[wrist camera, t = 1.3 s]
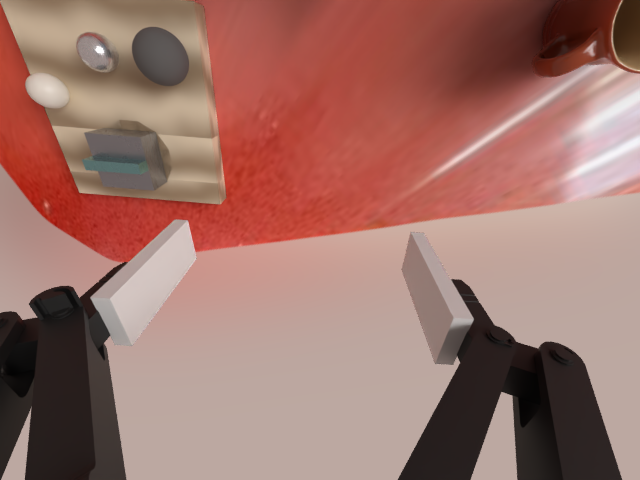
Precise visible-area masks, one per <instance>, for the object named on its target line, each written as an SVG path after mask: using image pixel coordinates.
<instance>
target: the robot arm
mask: <svg viewBox="0 0 640 480" xmlns="http://www.w3.org/2000/svg"><path fill="white" fill-rule="evenodd" d="M196 259H197V258H196V253H195V249H194V245H193V241H192V236H191V232H190V228H189V223H188V220H174V221H173V222H172V223H171V224H170V225H168V226H167V227H166V228H165V229H164V230H163V231H162V232H161V233H160V234H159V235H158V236H157V237H155V238H154V239H153V240H152V241H151V242H150V243H149V244H148V245H147V246H146V247H145V248H143V249H142V250H141V251H140V252H139V253H138V254H137V255H136V256H135V257H134V258H133V259H131V260H130V261H129V262H124V263H122V264H120V265H118V266H117V267H115V268H113V269H112V270H111V271H110V272H109V273H107V274H106V276H105V277H103V278H102V279H101V280H99V282H98V283H96V284H95V285H94V286H93V287H92V288H90V289H89V290H88V291H87V292H86V293H85V294H84V295H83V296H81V297H80V298H79V297H78V295H77V294H76V292H75V290H74V288H73V287H70V286H59V287H54V288H51V289H49V290H46V291H44V292H42V293H40V294H38V295H37V296H35V297H34V298H33V299H32V300H31V301H30V303H29V305H30V307H31V308H32V310H33V311H34V313H35V314H36V316H37V317H38V318H32V319H26V320H22V319H21V318H20V316H19V315H18V314H17V313H16V312H11V311H10V312H2V313H0V480H1V478H2V476H3V473H4V471H5V469H6V466H7V463H8V461H9V459H10V457H11V454H12V452H13V449H14V447H15V444H16V442H17V440H18V437H19V435H20V433H21V430H22V428H23V426H24V423H25V421H26V418H27V416H28V414H29V411H30V409H31V406H32V409H31V420H30V430H29V442H28V452H27V462H26V473H25V480H126V474H125V468H124V461H123V454H122V448H121V441H120V434H119V428H118V421H117V414H116V408H115V401H114V394H113V387H112V381H111V374H110V367H109V360H108V354H107V348H106V346H105V345H104V342H105V341H106V340H107V339H108V337H109V336H111V338H112V340H113V342H114V344H115V345H127V346H132V345H133V344H134V343H135V342H136V340H137V339H138V337H139V336H140V335H141V333H142V332H143V331H144V329H145V328H146V327H147V325H148V324H149V323H150V321H151V320H152V319H153V317H154V316H155V314H156V313H157V312H158V310H159V309H160V308H161V306H162V305H163V304H164V302H165V301H166V299H167V298H168V297H169V295H170V294H171V293H172V291H173V290H174V289H175V287H176V286H177V285H178V283H179V282H180V281H181V279H182V278H183V277H184V275H185V274H186V272H187V271H188V270H189V268H190V267H191V266H192V264H193V263H194V261H195V260H196ZM402 272H403V275H404V278H405V280H406V283H407V286H408V289H409V291H410V295H411V297H412V300H413V303H414V306H415V309H416V311H417V314H418V317H419V320H420V323H421V326H422V328H423V331H424V334H425V337H426V339H427V342H428V345H429V348H430V351H431V354H432V356H433V359H434V362H435V364H450V365H453V363H454V361H455V359H456V357H457V356H458V359H459V361H460V364H459V366H458V368H457V370H456V372H455V374H454V376H453V378H452V379H451V381H450V383H449V385H448V387H447V389H446V391H445V392H444V394H443V396H442V398H441V400H440V402H439V404H438V406H437V408H436V409H435V411H434V413H433V415H432V417H431V419H430V420H429V422H428V424H427V426H426V428H425V430H424V432H423V434H422V435H421V437H420V439H419V441H418V443H417V445H416V447H415V448H414V450H413V452H412V454H411V456H410V458H409V460H408V462H407V463H406V465H405V467H404V469H403V471H402V473H401V475H400V476H399V478H398V480H470V479H471V476H472V474H473V471H474V468H475V465H476V462H477V459H478V457H479V454H480V451H481V448H482V445H483V442H484V439H485V436H486V434H487V431H488V428H489V425H490V422H491V419H492V417H493V413H494V411H495V408H496V405H497V402H498V399H499V397H500V394H501V392H504V393H507V394H510V395H513V411H514V428H515V446H516V462H517V479H518V480H622V478H621V475H620V472H619V469H618V465H617V462H616V459H615V456H614V453H613V450H612V447H611V444H610V441H609V438H608V435H607V431H606V429H605V425H604V422H603V419H602V416H601V413H600V410H599V407H598V404H597V401H596V397H595V394H594V391H593V388H592V385H591V382H590V379H589V376H588V372H587V369H586V366H585V364H584V363H583V361H582V359H581V358H580V357H579V356H578V355H577V354H576V353H575V352H573V351H572V350H571V349H569V348H568V347H566V346H563V345H561V344H559V343H554V342H544V343H543V344H541V345H540V347H539V348H538V349H537V348H534V347H531V346H528V345H524V344H521V343H518V342H516V341H515V339H514V338H513V337H512V336H511V335H510V334H509V333H508V332H507V331H505V330H504V329H502V328H500V327H497V326H495V325H494V324H493V322H492V321H491V319H490V318H489V316H488V315H487V313H486V311H485V310H484V308H483V307H482V305H481V304H480V303H479V301H478V299H477V298H476V296H475V294H474V293H473V291H472V290H471V288H470V287H469V286H468V285H466V284H465V283H464V282H463V281H462V280H454V279H450V277H449V275H448V273H447V272H446V270H445V268H444V267H443V265H442V263H441V262H440V260H439V258H438V256H437V254H436V253H435V251H434V249H433V248H432V246H431V244H430V243H429V241H428V239H427V237H426V235H425V234H424V233H420V232H411V233H410V238H409V241H408V246H407V250H406V254H405V258H404V262H403V267H402Z"/></svg>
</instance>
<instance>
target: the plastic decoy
mask: <svg viewBox="0 0 640 480" xmlns="http://www.w3.org/2000/svg"><path fill="white" fill-rule="evenodd" d="M25 87H26V90H27V93H28V94H29V96H30V97H31V98H32V99H33V100H34V101H35V102H37V103H38V104H40V105H42V106H44V107H48V108H53V109H56V108H61V107H64V106H65V105H66V104H67V103H68V102H69V98H70V95H69V91H68V89H67V87H66V86H65V84H64V83H63V82H62V81H60V80H59V79H58V78H56V77H54V76H52V75H50V74H46V73H34V74H32V75H30V76H29V77H28V78H27V80H26V83H25Z"/></svg>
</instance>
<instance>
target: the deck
mask: <svg viewBox="0 0 640 480" xmlns="http://www.w3.org/2000/svg"><path fill="white" fill-rule="evenodd" d="M0 2H1V5H2V7H3V10H4V12H5V15H6V17H7V19H8V22H9V24H10V27H11V29H12V31H13V34H14V36H15V39H16V41H17V43H18V46H19V48H20V51H21V53H22V55H23V58H24V60H25V63H26V65H27V67H28V70H29V72H30V75H32V74H34V73H46V74H50V75H52V76H54V77H56V78H58V79H59V80H60V81H62V82H63V83H64V84H65V86H66V87H67V89H68V91H69V95H70V98H69V102H68V103H67V104H66V105H65V106H64V107H61V108H56V109H53V108H48V107H44V108H45V111H46V113H47V116H48V118H49V120H50V123H51V125H52V128H53V130H54V132H55V135H56V137H57V140H58V142H59V145H60V147H61V149H62V152H63V154H64V157H65V159H66V161H67V164H68V166H69V169H70V171H71V173H72V176H73V178H74V181H75V183H76V185H77V188H78V190H79V193H88V194H101V195H113V196H125V197H137V198H149V199H161V200H174V201H186V202H198V203H210V204H221V203H222V202H223V201H224V200H225V198H226V190H225V182H224V173H223V165H222V156H221V148H220V139H219V131H218V122H217V114H216V105H215V97H214V88H213V80H212V72H211V63H210V55H209V46H208V38H207V29H206V21H205V12H204V6H202V5H200V4H198V3H196V2H194V1H185V0H0ZM147 27H159V28H162V29H165V30H167V31H169V32H170V33H172V34H173V35H174V36H176V37H177V38H178V39H179V41H180V42H181V43H182V45H183V46H184V48H185V50H186V52H187V55H188V59H189V71H188V74H187V76H186V78H185V79H184V80H183V81H182V82H181V83H179V84H177V85H174V86H162V85H159V84H156V83H154V82H152V81H151V80H149V79H148V78H147V77H145V76H144V75H143V73H142V72H141V71H140V70H139V69H138V67H137V65H136V63H135V61H134V58H133V54H132V42H133V39H134V37H135V35H136V34H137V33H138V32H139V31H140V30H142V29H144V28H147ZM84 32H96V33H99V34H101V35H103V36H105V37H106V38H108V39H109V40H110V41H111V42H112V43H113V45H114V46H115V47H116V49H117V51H118V54H119V64H118V66H117V68H116V69H115V70H113V71H111V72H107V73H103V72H98V71H95V70H93V69H91V68H90V67H88V66H87V65H86V64H85V63H84V62H83V61H82V60H81V58H80V57H79V55H78V53H77V50H76V40H77V38H78V36H79V35H80V34H82V33H84ZM101 128H113V129H125V130H137V131H150V132H156V135H157V139H158V144H159V148H160V152H161V157H162V161H163V165H164V170H165V174H166V178H167V182H166V183H165V184H163V185H162V186H160V187H159V188H157V189H156V190H154V191H153V190H140V189H128V188H116V187H104V186H103V184H102V181H101V178H100V176H99V173H98V171H91V170H86V169H85V167H84V164H83V162H82V159H85V158H88V157H91V156H92V154H91V151H90V148H89V145H88V143H87V140H86V137H85V134H84V133H85V132H89V131H93V130H97V129H101Z"/></svg>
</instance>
